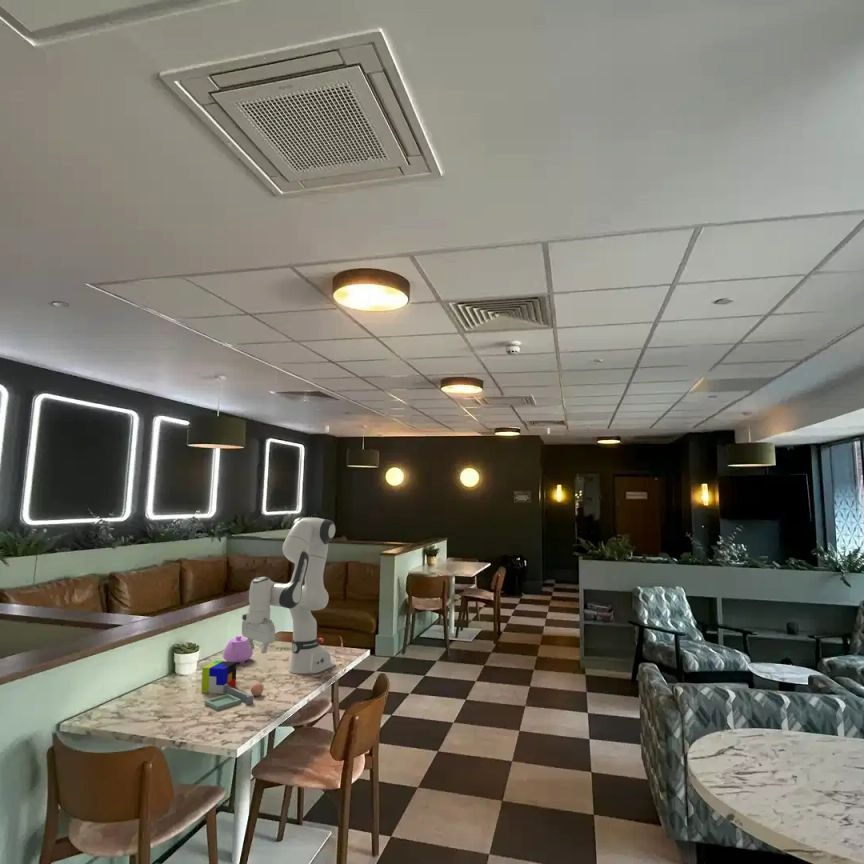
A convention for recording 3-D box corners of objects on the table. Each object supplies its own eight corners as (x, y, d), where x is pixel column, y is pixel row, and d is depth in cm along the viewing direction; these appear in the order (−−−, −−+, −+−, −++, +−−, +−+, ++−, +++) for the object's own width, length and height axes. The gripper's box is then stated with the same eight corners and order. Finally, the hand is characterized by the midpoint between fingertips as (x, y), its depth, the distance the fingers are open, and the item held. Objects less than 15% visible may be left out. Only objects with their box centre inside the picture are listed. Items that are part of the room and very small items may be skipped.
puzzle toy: (222, 693, 235) (223, 668, 236) (201, 692, 237) (202, 667, 238) (235, 685, 245) (236, 662, 246) (215, 684, 247) (216, 660, 248)
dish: (228, 697, 230) (228, 693, 231) (241, 703, 224) (241, 699, 224) (204, 704, 223) (204, 700, 223) (217, 710, 216) (217, 706, 217)
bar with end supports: (228, 692, 236) (228, 685, 237) (253, 703, 224) (253, 695, 224) (223, 694, 235) (223, 686, 235) (247, 704, 222) (247, 697, 223)
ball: (258, 692, 236) (259, 680, 237) (265, 695, 233) (266, 682, 233) (248, 695, 232) (248, 683, 233) (254, 698, 229) (255, 685, 230)
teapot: (246, 667, 271) (247, 641, 272) (216, 668, 270) (217, 642, 271) (256, 655, 291) (257, 631, 292) (228, 656, 289) (229, 632, 291)
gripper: (279, 619, 232) (278, 654, 230) (252, 612, 245) (251, 645, 243) (266, 621, 227) (265, 657, 225) (239, 614, 240) (238, 648, 239)
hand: (257, 651), depth 234 cm, fingers open, 8 cm apart
